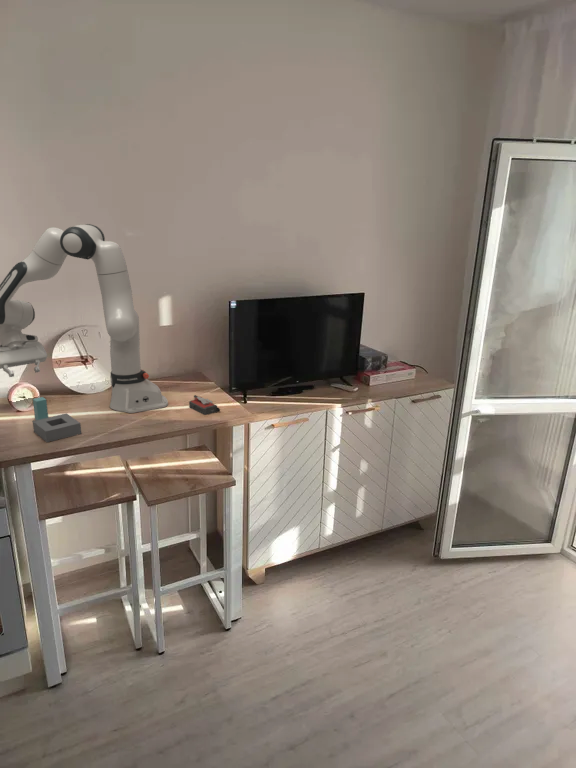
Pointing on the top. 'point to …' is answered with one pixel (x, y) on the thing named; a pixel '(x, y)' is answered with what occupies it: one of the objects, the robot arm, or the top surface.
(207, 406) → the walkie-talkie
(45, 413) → the plug
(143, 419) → the top surface
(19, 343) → the robot arm
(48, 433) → the socket
